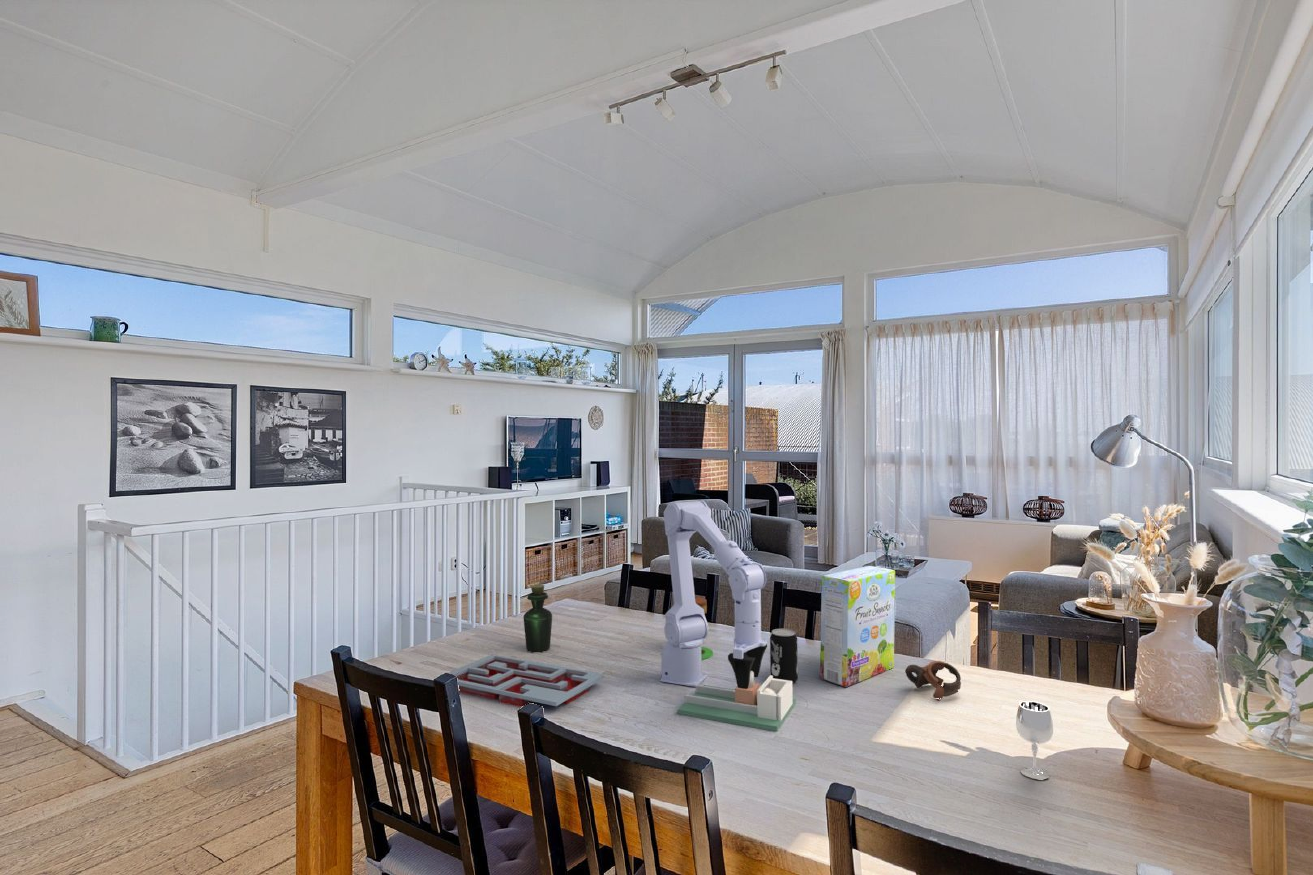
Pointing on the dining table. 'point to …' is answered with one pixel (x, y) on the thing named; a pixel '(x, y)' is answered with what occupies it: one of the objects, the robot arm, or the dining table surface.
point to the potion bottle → (537, 621)
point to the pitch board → (726, 708)
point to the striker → (747, 692)
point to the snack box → (857, 624)
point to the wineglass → (1034, 727)
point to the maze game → (523, 681)
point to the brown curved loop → (934, 678)
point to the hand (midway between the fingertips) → (748, 682)
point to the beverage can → (784, 655)
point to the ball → (768, 691)
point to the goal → (774, 699)
